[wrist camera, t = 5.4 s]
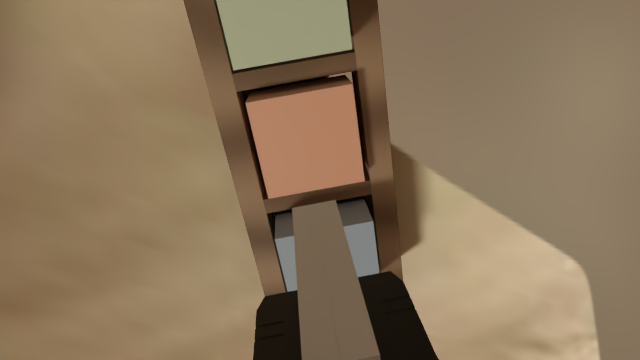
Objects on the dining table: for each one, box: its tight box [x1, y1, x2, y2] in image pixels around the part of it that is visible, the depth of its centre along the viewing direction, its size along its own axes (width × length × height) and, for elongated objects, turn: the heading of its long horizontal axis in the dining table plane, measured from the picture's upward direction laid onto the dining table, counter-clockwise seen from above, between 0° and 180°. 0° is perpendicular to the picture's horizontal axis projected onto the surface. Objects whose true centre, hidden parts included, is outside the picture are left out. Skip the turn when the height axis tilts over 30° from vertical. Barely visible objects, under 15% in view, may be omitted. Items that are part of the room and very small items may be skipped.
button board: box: [184, 0, 403, 296], centre depth 25 cm, size 24×10×2 cm, turn 9°
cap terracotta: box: [246, 75, 365, 199], centre depth 25 cm, size 6×6×3 cm
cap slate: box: [275, 199, 379, 292], centre depth 27 cm, size 6×6×3 cm
